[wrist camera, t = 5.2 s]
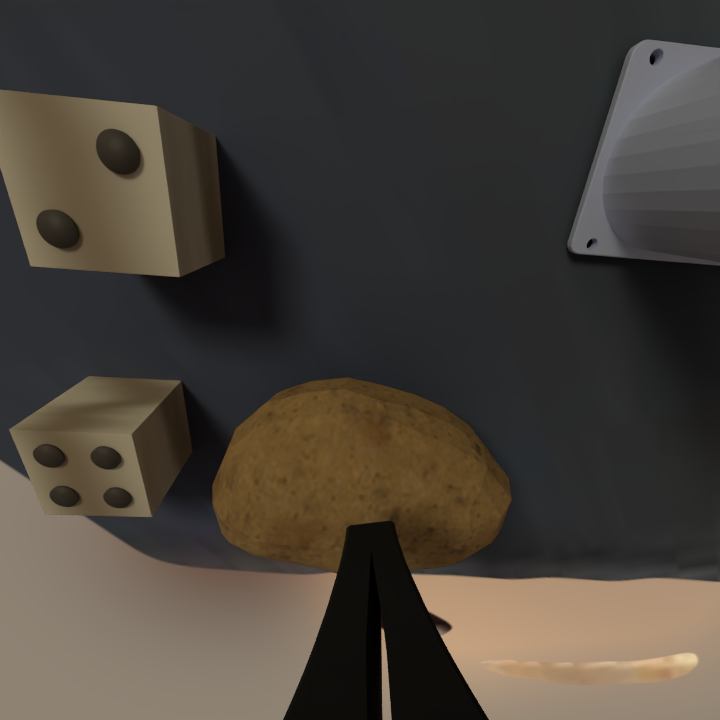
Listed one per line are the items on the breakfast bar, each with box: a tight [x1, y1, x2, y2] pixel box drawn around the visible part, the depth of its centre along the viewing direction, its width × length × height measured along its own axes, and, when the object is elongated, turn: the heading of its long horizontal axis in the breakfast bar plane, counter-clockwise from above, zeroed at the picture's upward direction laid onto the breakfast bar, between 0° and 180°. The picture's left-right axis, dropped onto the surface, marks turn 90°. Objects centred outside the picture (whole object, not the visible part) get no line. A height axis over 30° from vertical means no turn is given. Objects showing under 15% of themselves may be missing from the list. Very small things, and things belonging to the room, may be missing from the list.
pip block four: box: [9, 376, 193, 517], centre depth 18 cm, size 5×5×5 cm
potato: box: [212, 378, 512, 573], centre depth 17 cm, size 10×14×8 cm
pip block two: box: [0, 90, 225, 277], centre depth 13 cm, size 5×5×5 cm
